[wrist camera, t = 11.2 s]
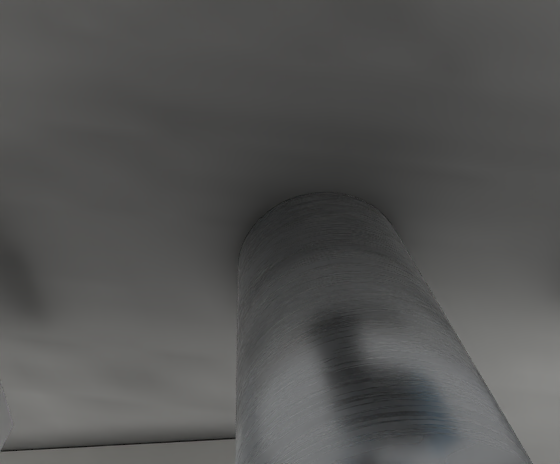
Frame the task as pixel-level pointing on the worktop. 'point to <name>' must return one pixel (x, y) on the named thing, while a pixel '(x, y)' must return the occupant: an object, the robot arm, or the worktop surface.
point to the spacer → (352, 349)
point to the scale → (131, 454)
